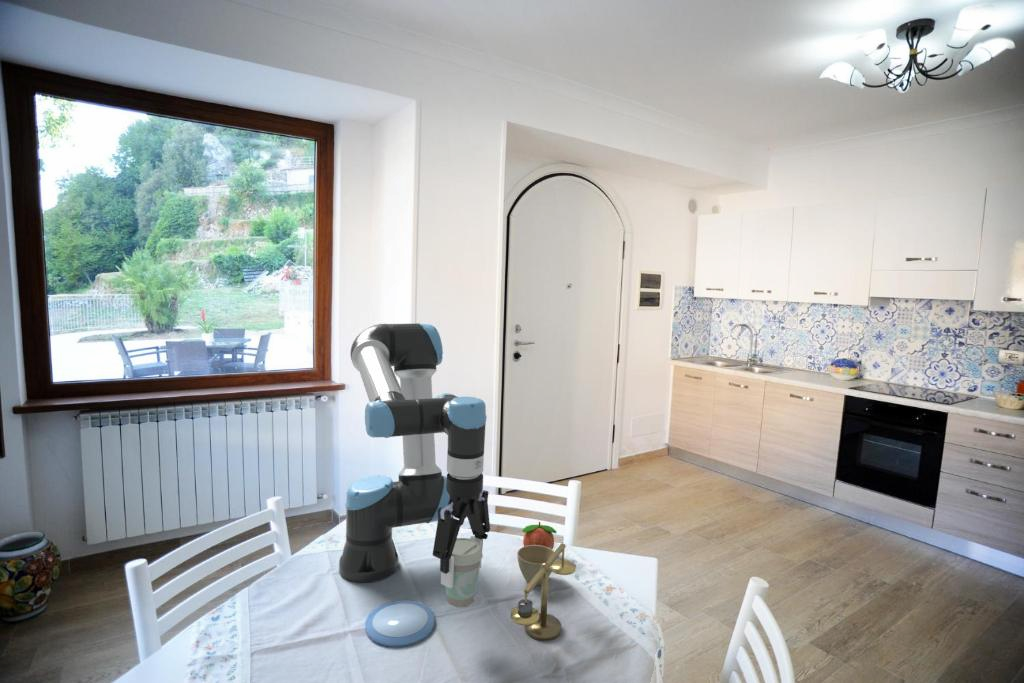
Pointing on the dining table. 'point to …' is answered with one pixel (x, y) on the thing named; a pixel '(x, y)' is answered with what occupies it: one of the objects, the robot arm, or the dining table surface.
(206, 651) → the dining table surface
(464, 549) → the coffee cup
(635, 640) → the dining table surface
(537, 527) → the fruit
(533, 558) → the flower pot
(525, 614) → the balance
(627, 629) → the dining table surface
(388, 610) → the dish
